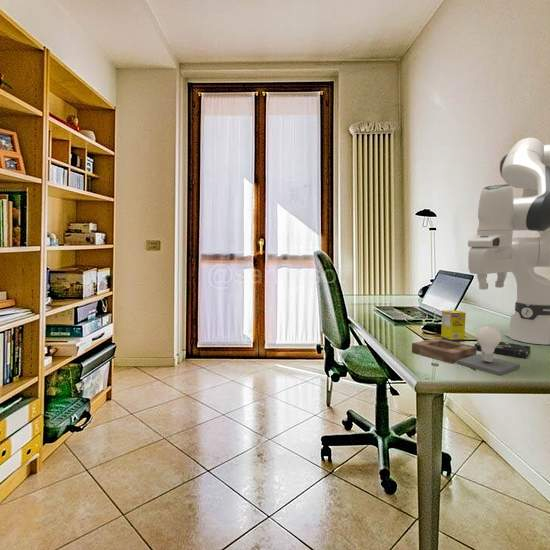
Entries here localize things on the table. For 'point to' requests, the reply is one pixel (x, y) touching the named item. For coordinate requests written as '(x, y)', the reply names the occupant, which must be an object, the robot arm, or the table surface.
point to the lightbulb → (488, 341)
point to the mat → (488, 364)
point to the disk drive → (509, 349)
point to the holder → (443, 349)
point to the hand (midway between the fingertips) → (491, 288)
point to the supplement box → (453, 325)
